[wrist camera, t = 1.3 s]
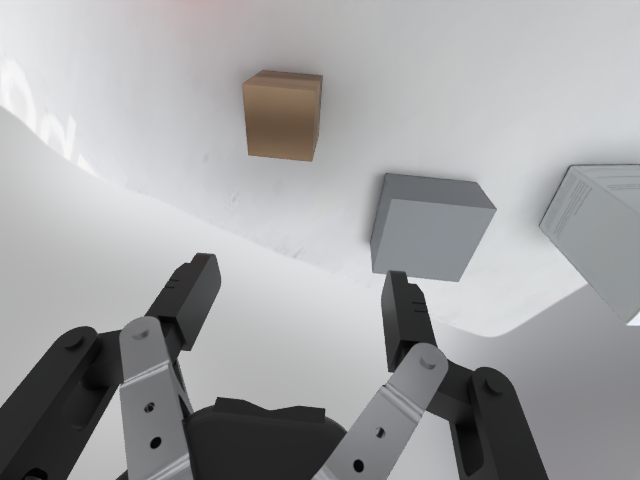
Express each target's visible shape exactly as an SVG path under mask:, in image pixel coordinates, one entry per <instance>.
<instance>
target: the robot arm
mask: <svg viewBox="0 0 640 480" xmlns="http://www.w3.org/2000/svg"><path fill="white" fill-rule="evenodd" d="M220 286H221V275H220V271H219V267H218V263H217V259H216V256H215V255H214V254H207V253H197V254H196V255H195V256H194V258H193V260H192V261H191V263H184V264H183V265H181V266H180V267H179V268H178V269H176V270H175V272H174V273H173V274H172V276H171V277H170V279H169V281H168V282H167V283H166V285H165V287H164V288H163V289H162V291H161V292H160V294H159V295H158V297H157V298H156V300H155V301H154V303H153V304H152V305H151V307H150V309H149V310H148V311H147V313H146V314H145V316H144V317H140V318H137V319H135V320H133V321H131V322H130V323H128V324H127V325H126V326H125V327H124V328H123V329H122V330H117V331H111V332H106V333H100V334H98V333H97V332H96V331H95V329H93V328H92V327H88V326H84V327H78V328H74V329H72V330H70V331H68V332H66V333H65V334H63V335H61V336H60V337H59V338H58V339H57V340H56V341H55V342H54V343H53V345H52V346H51V347H50V348H49V349H48V351H47V352H46V353H45V354H44V356H43V357H42V358H41V359H40V360H39V362H38V363H37V364H36V365H35V367H34V368H33V369H32V370H31V371H30V373H29V374H28V375H27V376H26V378H25V379H24V380H23V381H22V382H21V384H20V385H19V386H18V387H17V388H16V390H15V391H14V392H13V393H12V395H11V396H10V397H9V398H8V399H7V401H6V402H5V403H4V404H3V405H2V407H1V408H0V480H67V478H68V476H69V474H70V472H71V471H72V469H73V467H74V465H75V463H76V462H77V460H78V458H79V456H80V454H81V452H82V451H83V449H84V447H85V445H86V443H87V442H88V440H89V438H90V436H91V434H92V433H93V431H94V429H95V427H96V425H97V424H98V422H99V420H100V418H101V417H102V415H103V413H104V411H105V409H106V408H107V406H108V404H109V402H110V400H111V399H112V397H113V395H114V393H115V391H116V389H117V388H118V386H119V384H121V385H120V401H121V411H122V419H123V420H122V421H123V429H124V440H125V449H126V458H127V468H128V469H127V470H126V471H125V472H124V473H123V474H122V475H120V476H119V477H118V478H117V479H116V480H386V479H387V478H388V476H389V474H390V472H391V470H392V469H393V467H394V465H395V464H396V462H397V460H398V458H399V456H400V455H401V453H402V451H403V450H404V448H405V446H406V444H407V442H408V441H409V439H410V437H411V435H412V434H413V432H414V430H415V428H416V427H417V425H418V423H419V421H420V419H421V418H422V415H423V413H424V412H425V410H426V411H428V412H430V413H433V414H435V415H437V416H439V417H441V418H444V419H446V420H448V421H449V424H450V430H451V435H452V440H453V446H454V451H455V456H456V462H457V467H458V473H459V478H460V480H549V479H548V477H547V474H546V471H545V468H544V466H543V463H542V460H541V458H540V455H539V453H538V450H537V447H536V444H535V442H534V439H533V437H532V434H531V431H530V428H529V426H528V423H527V420H526V418H525V415H524V413H523V410H522V407H521V405H520V402H519V399H518V397H517V394H516V391H515V389H514V387H513V385H512V383H511V382H510V381H509V379H508V378H507V377H506V376H505V375H503V374H502V373H501V372H499V371H497V370H495V369H493V368H489V367H480V368H478V369H476V370H475V371H472V370H469V369H467V368H464V367H462V366H460V365H457V364H455V363H453V362H451V361H450V360H448V359H447V358H446V356H445V355H444V353H443V352H442V351H441V350H440V349H438V347H437V344H436V341H435V337H434V333H433V329H432V325H431V321H430V317H429V314H428V309H427V306H426V302H425V298H424V294H423V292H422V291H421V289H420V288H419V287H418V286H417V284H411V283H408V280H407V275H406V272H405V271H394V270H388V272H387V276H386V279H385V283H384V287H383V291H382V297H381V307H382V317H383V326H384V336H385V345H386V355H387V363H388V372H393V375H392V376H391V377H390V379H389V380H388V381H387V383H386V384H385V385H383V386H381V388H380V389H379V390H378V391H377V393H376V394H375V395H374V397H373V398H372V400H371V401H370V402H369V404H368V405H367V406H366V408H365V409H364V410H363V412H362V413H361V414H360V416H359V417H358V419H357V420H356V422H355V423H354V424H353V425H352V427H351V428H350V430H349V431H348V432H347V431H346V430H345V429H344V428H343V427H342V426H341V425H339V424H338V423H337V422H335V421H334V420H332V419H330V418H328V417H326V416H325V409H324V408H315V407H306V406H294V407H289V408H283V409H277V410H266V409H264V408H261V407H259V406H257V405H254V404H252V403H250V402H247V401H245V400H240V399H231V398H221V397H217V399H216V402H215V405H213V406H209V407H206V408H203V409H201V410H199V411H196V412H195V413H194V411H193V409H192V406H191V403H190V401H189V398H188V394H187V391H186V387H185V384H184V380H183V376H182V373H181V369H180V365H179V362H178V359H177V357H178V355H179V353H180V351H181V350H184V351H191V349H192V347H193V345H194V343H195V340H196V338H197V336H198V334H199V332H200V330H201V328H202V325H203V323H204V321H205V319H206V317H207V315H208V313H209V311H210V309H211V306H212V304H213V302H214V300H215V298H216V296H217V294H218V292H219V289H220ZM122 383H123V384H122Z"/></svg>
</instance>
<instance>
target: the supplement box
mask: <svg viewBox="0 0 640 480" xmlns="http://www.w3.org/2000/svg"><path fill="white" fill-rule="evenodd" d="M539 228H540V229H541V230H542V232H543V233H544V234H545V235H546V236H547V237H548V238H549V239H550V241H551V242H552V243H553V244H554V245H555V246H556V247H557V248H558V249H559V251H560V252H561V253H562V254H563V255H564V256H565V257H566V258H567V260H568V261H569V262H570V263H571V264H572V265H573V266H574V267H575V268H576V270H577V271H578V272H579V273H580V274H581V275H582V276H583V277H584V279H585V280H586V281H587V282H588V283H589V284H590V285H591V286H592V287H593V288H594V289H595V291H596V292H597V293H598V294H599V295H600V296H601V297H602V299H603V300H604V301H605V302H606V303H607V304H608V305H609V306H610V308H611V309H612V310H613V311H614V312H615V313H616V314H617V315H618V317H619V318H620V319H621V320H622V321H623V322H624V323H625V324H626V325H632V326H633V325H634V326H640V165H596V166H571V167H570V169H569V170H568V172H567V174H566V176H565V178H564V180H563V182H562V183H561V185H560V187H559V189H558V191H557V193H556V195H555V197H554V199H553V200H552V202H551V204H550V206H549V208H548V210H547V212H546V214H545V216H544V218H543V220H542V222H541V224H540V227H539Z"/></svg>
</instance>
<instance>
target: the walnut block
mask: <svg viewBox="0 0 640 480" xmlns="http://www.w3.org/2000/svg"><path fill="white" fill-rule="evenodd" d="M242 87H243V98H244V110H245V122H246V133H247V145H248V155H251V156H261V157H270V158H280V159H290V160H300V161H310V162H312V159H313V155H314V152H315V148H316V144H317V140H318V136H319V121H320V106H321V91H322V76H319V75H309V74H298V73H288V72H277V71H267V70H263V71H261V72H260V73H258V74H257V75H255V76H254V77H252V78H251V79H249V80H248V81H246V82H245V83H243V84H242Z"/></svg>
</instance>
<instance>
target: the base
mask: <svg viewBox="0 0 640 480" xmlns="http://www.w3.org/2000/svg"><path fill="white" fill-rule="evenodd" d="M496 210H497V209H496V208H495V206H494V205H493V204H492V202H491V201H490V199H489V198H488V197H487V195H486V194H485V193H484V191H483V190H482V189H481V187H480V186H479V185H478V183H476V182H466V181H457V180H447V179H437V178H427V177H417V176H407V175H398V174H388V173H386V176H385V181H384V185H383V190H382V194H381V198H380V203H379V207H378V211H377V216H376V220H375V224H374V229H373V233H372V237H371V242H370V247H371V259H372V270H373V273H379V274H387V272H388V270H394V271H405V272H406V275H407V277H415V278H425V279H434V280H443V281H452V282H459V280H460V278H461V276H462V275H463V273H464V271H465V269H466V267H467V265H468V263H469V261H470V259H471V258H472V256H473V254H474V252H475V250H476V248H477V246H478V244H479V242H480V241H481V239H482V237H483V235H484V233H485V231H486V229H487V227H488V225H489V224H490V222H491V220H492V218H493V216H494V214H495V212H496Z"/></svg>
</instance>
